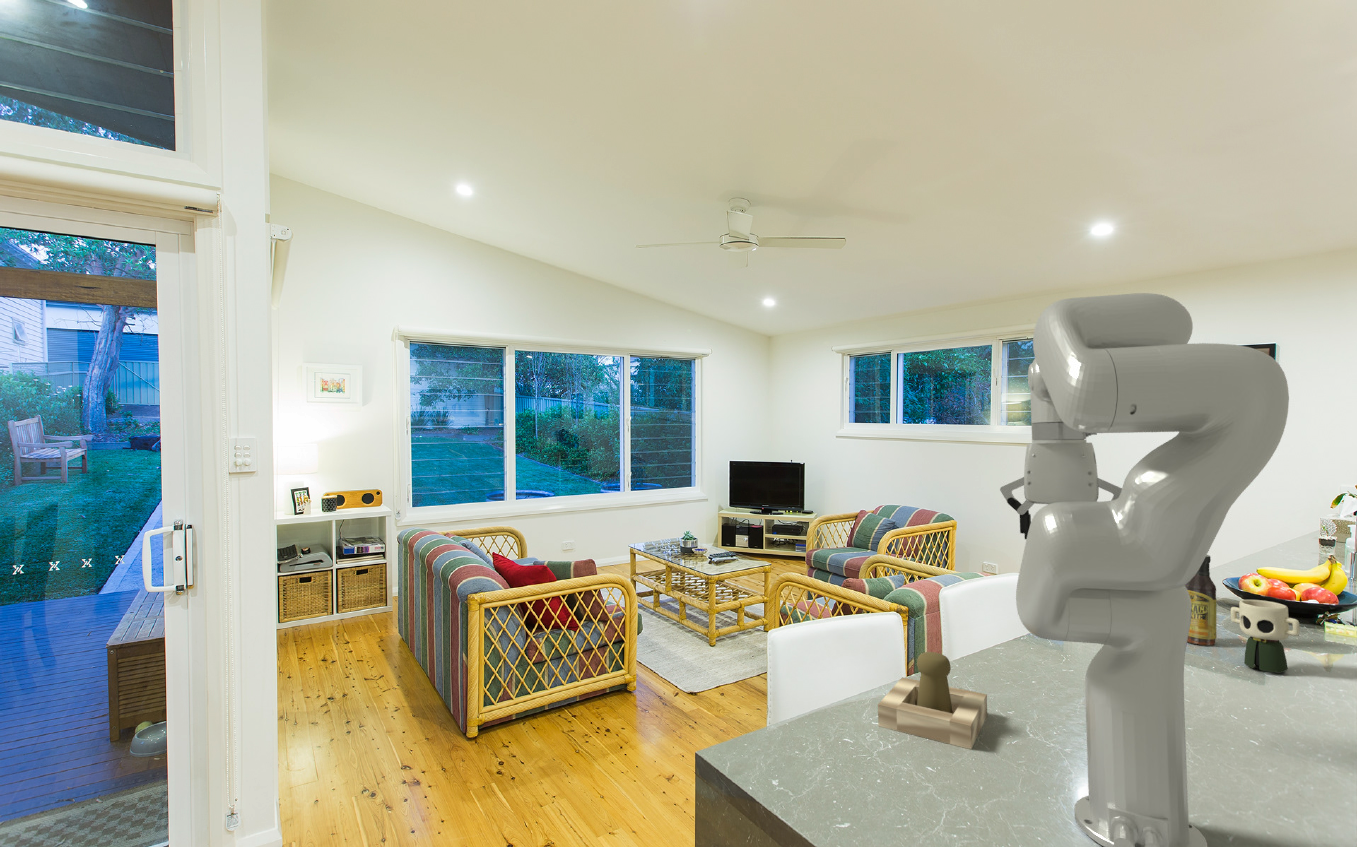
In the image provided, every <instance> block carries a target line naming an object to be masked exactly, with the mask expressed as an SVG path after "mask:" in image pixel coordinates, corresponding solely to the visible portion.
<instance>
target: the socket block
mask: <svg viewBox="0 0 1357 847" xmlns="http://www.w3.org/2000/svg"><path fill="white" fill-rule="evenodd" d="M919 684H920V680H917V679H913V678H907V677H901V678H900V679H899V680H898V681H897V682H896V683H895V685H894V686H893V687H892V688H891V689H890V690H889V691H888V693H887V694H886V695H885V696H884V697H883V698H882V699H881V701H879V703H878V704H877V717H878V718H877V720H878V721H877V722H878V727H880V728H884V729H887V730H893V731H897V732H900V733H904V734H909V735H911V736H917V737H921V738H924V739H929V740H933V741H937V742H940V743H945V744H948V745H951V746H957V747H960V748H964V749H968V750H972V749H973V747H974V745H975V742H976V741H977V738H978V736H979V735H980V732H981V730H982V727H983V726H984V723H985V722H986V720H987V717H988V694H987V693H982V692H977V691H972V690H966V689H962V688H956V687H952V686H949V692H950V698H951V704H952V711H953V714H952V713H948V712H943V711H939V710H934V709H930V708H925V707H921V706H917V701H918V692H919Z"/></svg>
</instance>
